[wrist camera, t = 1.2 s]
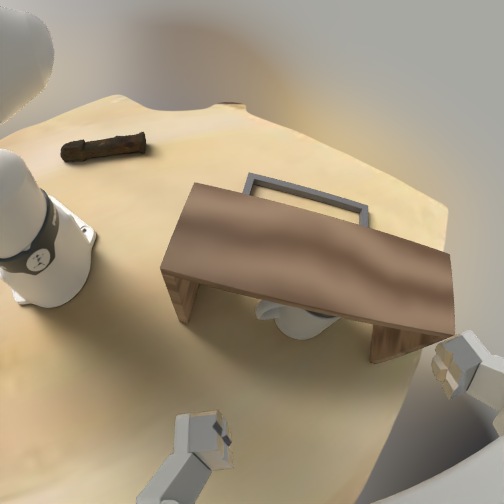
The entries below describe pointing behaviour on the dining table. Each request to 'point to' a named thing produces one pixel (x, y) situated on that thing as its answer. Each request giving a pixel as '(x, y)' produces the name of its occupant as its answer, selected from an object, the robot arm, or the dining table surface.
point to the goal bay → (308, 195)
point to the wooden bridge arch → (310, 267)
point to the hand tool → (103, 147)
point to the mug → (294, 319)
